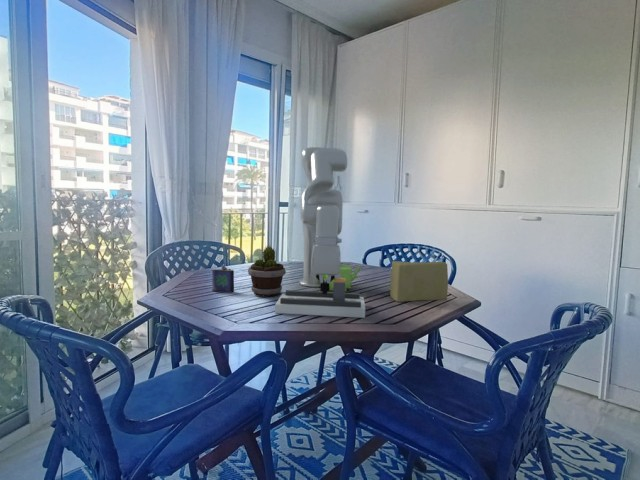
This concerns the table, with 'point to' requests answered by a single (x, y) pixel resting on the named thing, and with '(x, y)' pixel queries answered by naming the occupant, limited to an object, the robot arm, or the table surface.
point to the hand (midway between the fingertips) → (324, 293)
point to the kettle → (344, 276)
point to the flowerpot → (266, 274)
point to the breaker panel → (321, 308)
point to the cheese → (419, 281)
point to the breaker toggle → (339, 289)
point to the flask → (223, 279)
